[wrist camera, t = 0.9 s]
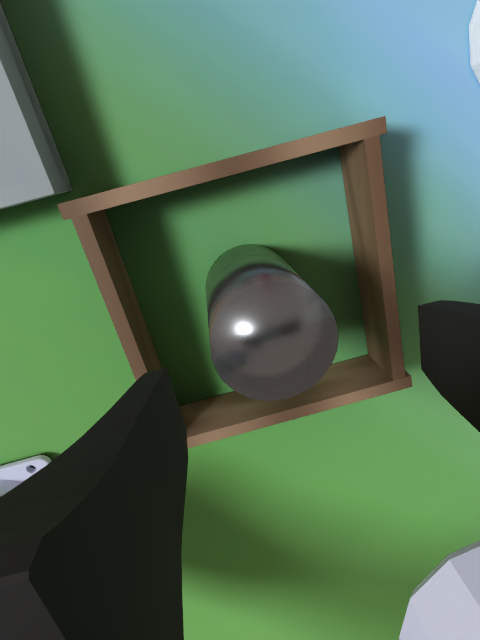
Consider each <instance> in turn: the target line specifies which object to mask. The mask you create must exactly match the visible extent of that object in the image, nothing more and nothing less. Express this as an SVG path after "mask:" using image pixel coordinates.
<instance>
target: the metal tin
mask: <svg viewBox="0 0 480 640" xmlns="http://www.w3.org/2000/svg"><path fill="white" fill-rule="evenodd" d="M206 300H207V312H208V324H209V336H210V348H211V357H212V361H213V364H214V366H215V369H216V371H217V373H218V374H219V376H220V377H221V379H222V380H223V381H224V382H225V383H226V384H227V385H228V386H229V387H230V388H232V389H233V390H234V391H236V392H238V393H239V394H241V395H243V396H246V397H248V398H252V399H256V400H262V401H276V400H283V399H288V398H291V397H294V396H296V395H299V394H301V393H303V392H305V391H306V390H308V389H309V388H311V387H312V386H313V385H315V384H316V383H317V382H318V381H319V380H320V379H321V378H322V377H323V376H324V375H325V373H326V372H327V371H328V369H329V367H330V366H331V364H332V362H333V360H334V357H335V354H336V351H337V346H338V328H337V324H336V320H335V318H334V315H333V313H332V311H331V309H330V308H329V306H328V305H327V304H326V303H325V301H324V300H323V299H322V298H321V297H320V296H319V295H318V294H317V293H316V292H315V291H314V290H313V289H312V288H311V287H310V286H309V285H308V284H307V283H306V282H305V281H304V280H303V279H302V278H301V277H300V276H299V275H298V274H297V273H296V272H295V271H294V270H293V269H292V268H291V267H290V265H289V264H288V263H287V262H286V261H285V260H284V259H283V258H282V257H281V256H280V255H278V254H277V253H276V252H274V251H273V250H271V249H269V248H267V247H264V246H261V245H254V244H247V245H241V246H237V247H234V248H232V249H230V250H228V251H226V252H225V253H223V254H222V255H221V256H220V257H219V258H218V259H217V260H216V261H215V262H214V264H213V265H212V267H211V269H210V271H209V273H208V276H207V280H206Z"/></svg>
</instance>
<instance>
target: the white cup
mask: <svg viewBox="0 0 480 640" xmlns="http://www.w3.org/2000/svg"><path fill="white" fill-rule="evenodd" d="M469 45H470V65H471V68H472V70H473V72H474V74H475V76H476V78H477V80H478V82H479V83H480V0H477V1H476V4H475V8H474V11H473V14H472V17H471V21H470V24H469Z"/></svg>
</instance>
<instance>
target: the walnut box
mask: <svg viewBox="0 0 480 640" xmlns="http://www.w3.org/2000/svg"><path fill="white" fill-rule="evenodd" d="M385 133H387V128H386V118H385V116H384V117H380V118H376V119H372V120H369V121H365V122H361V123H358V124H354V125H350V126H346V127H343V128H339V129H335V130H332V131H328V132H324V133H320V134H317V135H313V136H309V137H306V138H302V139H298V140H294V141H291V142H287V143H283V144H280V145H276V146H272V147H268V148H265V149H261V150H257V151H254V152H250V153H246V154H242V155H239V156H235V157H231V158H228V159H224V160H220V161H216V162H213V163H209V164H205V165H202V166H198V167H194V168H190V169H187V170H183V171H179V172H175V173H172V174H168V175H164V176H161V177H157V178H153V179H149V180H146V181H142V182H138V183H135V184H131V185H127V186H123V187H120V188H116V189H112V190H109V191H105V192H101V193H97V194H94V195H90V196H86V197H83V198H79V199H75V200H71V201H68V202H64V203H60V204H57V205H58V208H59V210H60V212H61V215H62V217H63V220H66V219H70V218H71V219H72V221H73V224H74V226H75V229H76V231H77V234H78V236H79V239H80V241H81V244H82V246H83V249H84V251H85V254H86V256H87V259H88V261H89V264H90V266H91V269H92V271H93V274H94V276H95V279H96V281H97V284H98V286H99V289H100V291H101V294H102V296H103V299H104V301H105V304H106V306H107V309H108V311H109V314H110V316H111V319H112V321H113V324H114V326H115V329H116V331H117V334H118V336H119V339H120V341H121V344H122V346H123V349H124V351H125V354H126V356H127V359H128V361H129V364H130V366H131V369H132V371H133V374H134V376H135V379H136V381H137V380H138V379H139V378H140V377H141V376H142V375H143V374H144V373H147V372H151V371H155V370H159V369H163V368H162V366H161V363H160V360H159V357H158V355H157V352H156V349H155V346H154V344H153V341H152V338H151V336H150V333H149V330H148V327H147V325H146V322H145V319H144V316H143V314H142V311H141V308H140V305H139V303H138V300H137V297H136V295H135V292H134V289H133V286H132V284H131V281H130V278H129V275H128V273H127V270H126V267H125V265H124V262H123V259H122V256H121V254H120V251H119V248H118V245H117V243H116V240H115V237H114V234H113V232H112V229H111V226H110V224H109V221H108V218H107V215H106V213H105V210H104V209H107V208H111V207H114V206H118V205H122V204H125V203H129V202H133V201H137V200H140V199H144V198H148V197H151V196H155V195H159V194H163V193H166V192H170V191H174V190H177V189H181V188H185V187H189V186H192V185H196V184H200V183H203V182H207V181H211V180H215V179H218V178H222V177H226V176H229V175H233V174H237V173H241V172H244V171H248V170H252V169H255V168H259V167H263V166H267V165H270V164H274V163H278V162H281V161H285V160H289V159H293V158H296V157H300V156H304V155H307V154H311V153H315V152H319V151H322V150H326V149H330V148H333V147H337V146H339V152H340V159H341V166H342V173H343V180H344V187H345V194H346V201H347V208H348V215H349V222H350V229H351V236H352V243H353V250H354V257H355V264H356V271H357V278H358V285H359V292H360V299H361V306H362V313H363V320H364V327H365V334H366V341H367V348H368V355H364V356H361V357H357V358H353V359H350V360H346V361H342V362H339V363H335V364H331V366H330V367H329V369H328V371H327V372H326V373H325V375H324V376H323V377H322V378H321V379H320V380H319V381H318V382H317V383H316V384H315V385H313V386H312V387H311V388H309V389H308V390H306V391H305V392H303V393H301V394H299V395H296V396H294V397H291V398H288V399H283V400H276V401H262V400H256V399H252V398H248V397H246V396H243V395H241V394H239V393H238V392H236V391H233V392H229V393H226V394H222V395H218V396H215V397H211V398H207V399H204V400H200V401H196V402H193V403H189V404H185V405H182V406H179V407H180V410H181V413H182V416H183V419H184V422H185V425H186V431H187V447H188V448H191V447H194V446H198V445H201V444H205V443H209V442H212V441H216V440H220V439H223V438H227V437H231V436H234V435H238V434H241V433H245V432H249V431H252V430H256V429H260V428H263V427H267V426H271V425H274V424H278V423H282V422H285V421H289V420H292V419H296V418H300V417H303V416H307V415H311V414H314V413H318V412H322V411H325V410H329V409H332V408H336V407H340V406H343V405H347V404H351V403H354V402H358V401H362V400H365V399H369V398H372V397H376V396H380V395H383V394H387V393H391V392H394V391H398V390H402V389H405V388H409V387H412V378H411V375H410V374H408V373H407V372H406V371H405V370H404V361H403V351H402V342H401V333H400V323H399V314H398V304H397V295H396V286H395V276H394V267H393V258H392V248H391V239H390V229H389V220H388V211H387V201H386V192H385V183H384V173H383V164H382V154H381V145H380V136H379V135H382V134H385Z"/></svg>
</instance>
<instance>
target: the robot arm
mask: <svg viewBox="0 0 480 640" xmlns="http://www.w3.org/2000/svg"><path fill="white" fill-rule="evenodd" d="M418 315H419V332H420V350H421V368H422V370H423V372H424V373H425V375H426V376H427V377H428V379H429V380H430V381H431V383H432V384H433V385H434V386H435V388H436V389H437V390H438V391H439V393H440V394H441V395H442V396H443V397H444V398H445V399H446V400H447V401H448V402H449V403H450V404H451V405H452V406H453V407H454V408H455V409H456V410H457V411H458V412H459V413H460V414H461V415H462V416H463V417H464V418H465V419H466V420H467V421H468V422H470V423H471V424H472V425H473V426H474V427H475V428H476V429H477V430H478V431H479V432H480V304H474V303H467V302H458V301H436V302H432V303H427V304H423V305H419V306H418ZM29 465H32V466H34V467H35V468H32V467H30V466H29ZM187 467H188V447H187V431H186V425H185V422H184V419H183V416H182V413H181V410H180V407H179V404H178V401H177V398H176V395H175V392H174V389H173V386H172V383H171V380H170V377H169V374H168V371H167V368H163V369H159V370H155V371H151V372H147V373H144V374H143V375H142V376H141V377H140V378H139V379H138V380H137V381H136V382H135V383H134V384H133V385H132V386H131V387H130V388H129V389H128V390H127V392H126V393H125V394H124V395H123V396H122V397H121V398H120V399H119V400H118V401H117V402H116V403H115V404H114V405H113V407H112V408H111V409H110V410H109V411H108V412H107V413H106V414H105V415H104V416H103V417H102V418H101V419H100V420H99V421H97V422H96V423H95V424H94V425H93V426H92V427H91V428H90V429H89V430H88V431H87V432H86V433H85V434H84V435H83V436H82V437H81V438H80V439H78V440H77V441H76V442H75V443H74V444H73V445H71V446H70V447H69V448H68V449H67V450H65V451H64V452H63V453H62V454H60V455H59V456H58V457H57V458H55V459H54V460H53V461H51V459H50V458H49V457H47V456H44V455H38V456H34V457H31V458H27V459H24V460H20V461H16V462H13V463H9V464H5V465H2V466H0V640H184V634H183V606H182V566H181V545H182V527H183V515H184V504H185V492H186V480H187ZM399 640H480V541H478V542H475V543H473V544H471V545H469V546H467V547H464V548H462V549H460V550H458V551H455V552H453V553H451V554H449V555H447V556H446V557H445V558H444V559H443V560H442V561H441V562H440V563H439V564H438V565H437V566H436V567H435V568H434V569H433V570H432V571H431V572H430V573H429V574H428V575H427V576H426V577H425V578H424V579H423V580H422V581H421V582H420V583H419V584H418V585H417V586H416V587H415V588H414V590H413V592H412V595H411V597H410V600H409V604H408V607H407V611H406V615H405V618H404V622H403V625H402V629H401V633H400V636H399Z"/></svg>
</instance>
